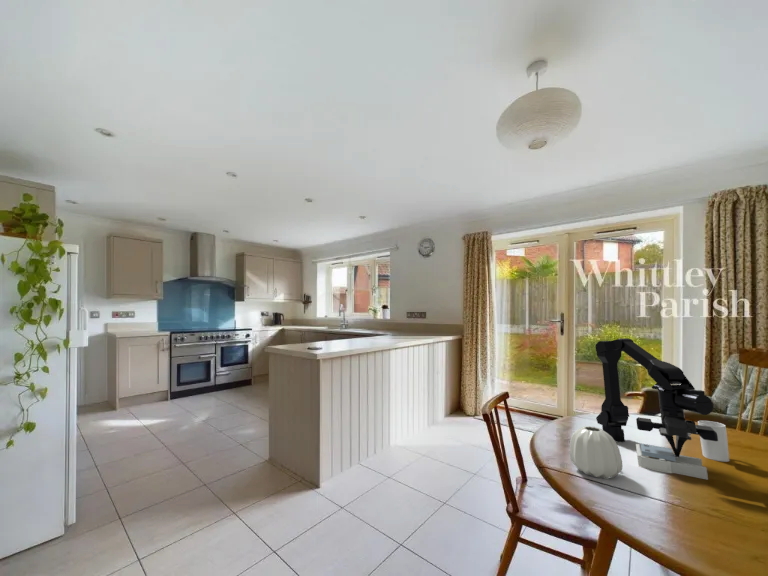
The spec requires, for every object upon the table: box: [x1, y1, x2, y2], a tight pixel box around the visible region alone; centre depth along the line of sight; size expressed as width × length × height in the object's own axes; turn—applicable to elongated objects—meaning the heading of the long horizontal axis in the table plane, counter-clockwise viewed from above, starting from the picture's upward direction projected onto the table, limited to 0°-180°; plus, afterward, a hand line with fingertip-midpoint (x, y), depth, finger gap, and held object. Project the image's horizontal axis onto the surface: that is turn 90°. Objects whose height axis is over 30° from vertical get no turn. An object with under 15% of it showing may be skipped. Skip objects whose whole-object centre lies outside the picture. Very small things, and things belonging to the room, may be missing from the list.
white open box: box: [635, 443, 709, 480], centre depth 103 cm, size 16×18×4 cm
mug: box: [697, 420, 730, 463], centre depth 108 cm, size 10×7×12 cm, turn 127°
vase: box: [569, 425, 623, 479], centre depth 100 cm, size 14×14×13 cm
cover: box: [639, 443, 675, 461], centre depth 102 cm, size 8×8×2 cm
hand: (677, 456), depth 99 cm, fingers closed
